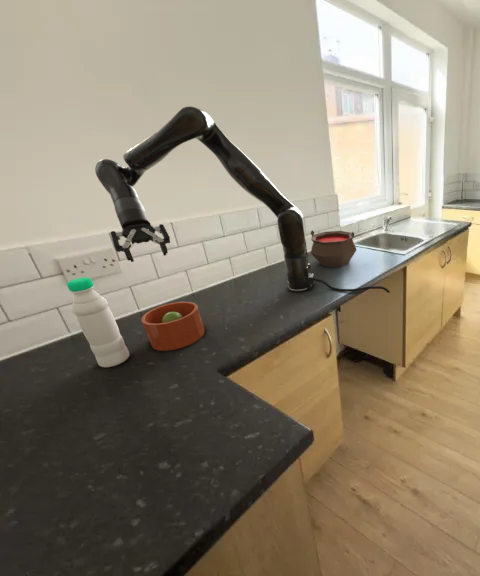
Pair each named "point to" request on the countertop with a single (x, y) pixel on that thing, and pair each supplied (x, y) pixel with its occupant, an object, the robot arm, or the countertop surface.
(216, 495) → the countertop surface
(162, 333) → the pot
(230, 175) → the robot arm
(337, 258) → the brown cauldron
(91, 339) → the water bottle
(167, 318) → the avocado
